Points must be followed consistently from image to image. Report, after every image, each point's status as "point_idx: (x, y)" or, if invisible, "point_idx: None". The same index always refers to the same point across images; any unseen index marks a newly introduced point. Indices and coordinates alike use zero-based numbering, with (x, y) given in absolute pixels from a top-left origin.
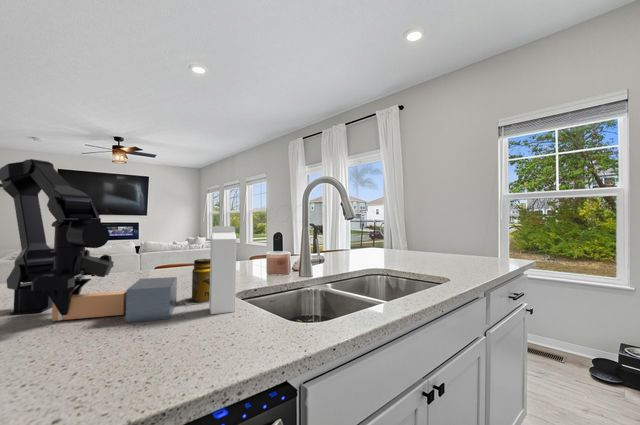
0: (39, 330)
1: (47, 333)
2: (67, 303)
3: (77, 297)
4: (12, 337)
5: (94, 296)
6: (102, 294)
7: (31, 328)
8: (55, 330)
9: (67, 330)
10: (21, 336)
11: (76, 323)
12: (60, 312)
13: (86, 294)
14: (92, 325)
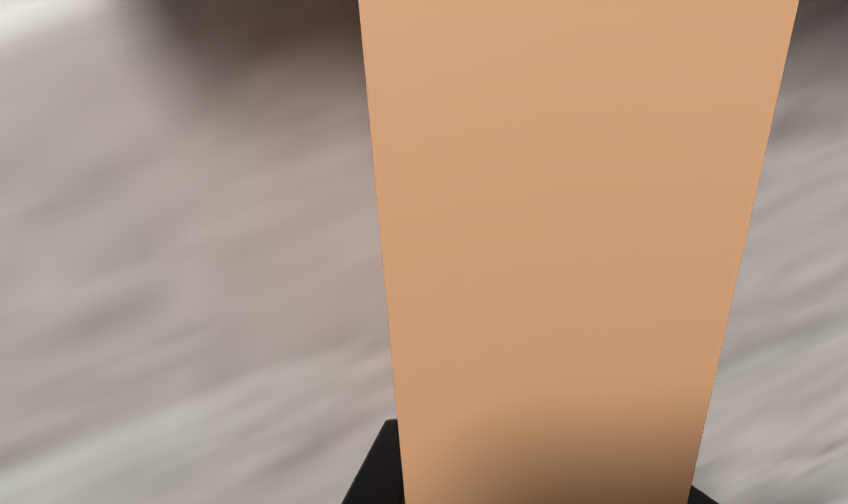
0: (719, 428)
1: (833, 342)
2: (708, 500)
3: (683, 495)
4: (799, 495)
5: (748, 195)
6: (645, 27)
7: None
8: (782, 323)
9: (837, 230)
10: (808, 461)
11: None
12: None
13: (478, 454)
14: (796, 53)
